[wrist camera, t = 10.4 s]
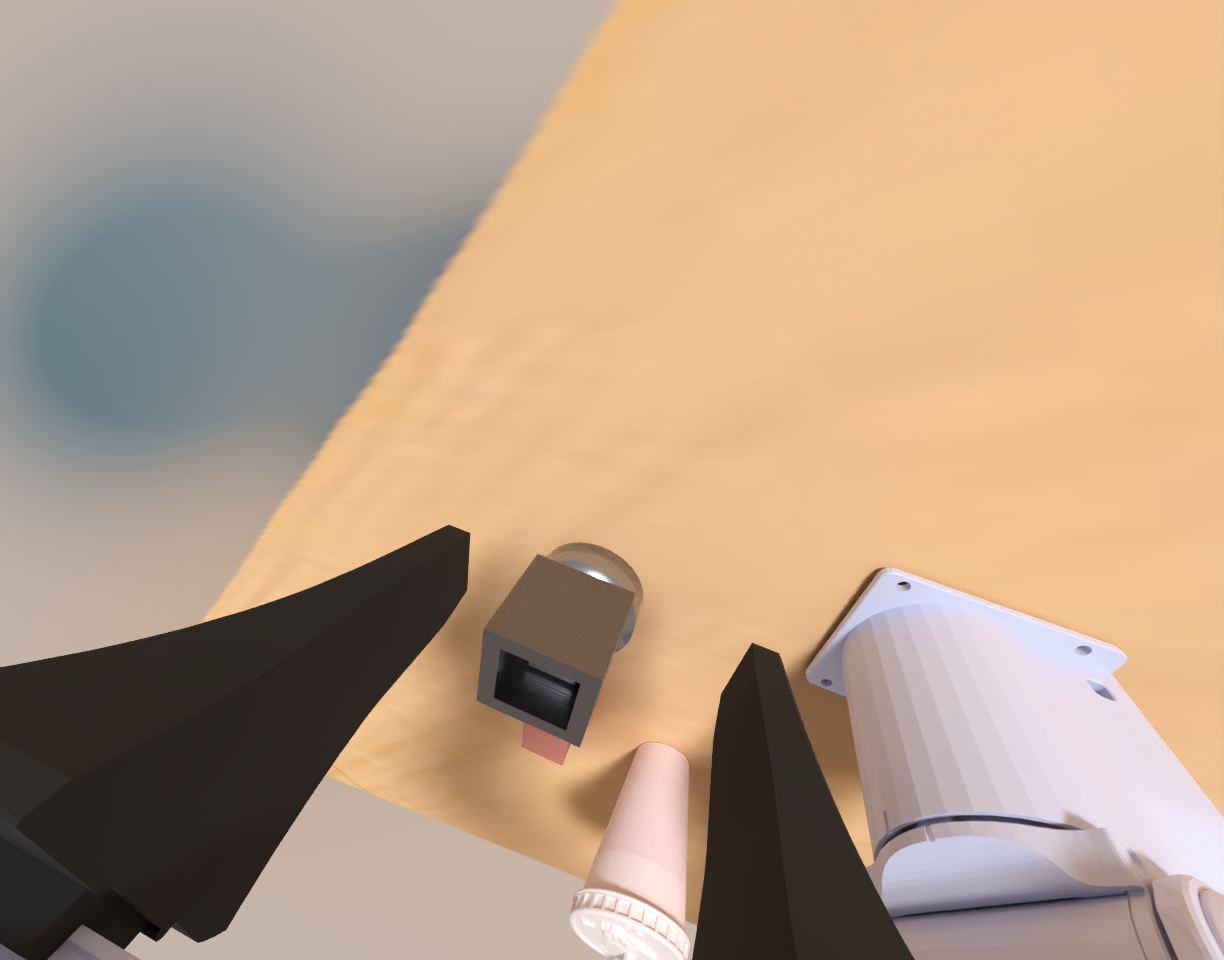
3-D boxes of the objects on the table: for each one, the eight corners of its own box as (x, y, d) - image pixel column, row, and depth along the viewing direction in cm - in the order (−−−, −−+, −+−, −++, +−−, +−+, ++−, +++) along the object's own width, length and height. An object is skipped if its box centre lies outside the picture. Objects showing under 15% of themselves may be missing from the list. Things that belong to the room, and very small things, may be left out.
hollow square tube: (635, 593, 21) (603, 680, 17) (612, 658, 24) (579, 747, 20) (537, 554, 22) (484, 628, 18) (525, 622, 25) (476, 700, 21)
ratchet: (589, 746, 33) (562, 824, 29) (516, 713, 34) (479, 784, 29) (655, 567, 23) (629, 644, 19) (550, 527, 24) (502, 592, 20)
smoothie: (643, 788, 33) (576, 1088, 22) (602, 731, 31) (504, 1026, 20) (724, 789, 30) (697, 1137, 19) (684, 726, 28) (626, 1070, 17)
